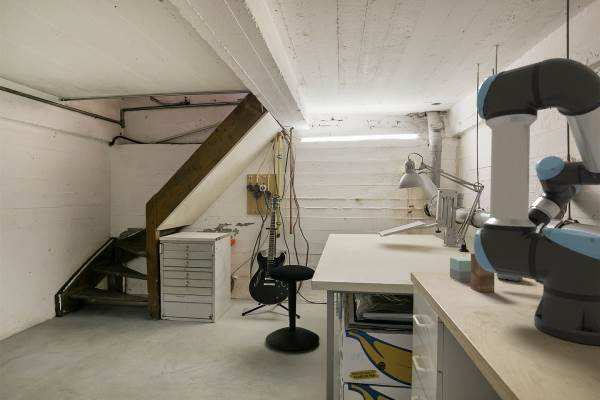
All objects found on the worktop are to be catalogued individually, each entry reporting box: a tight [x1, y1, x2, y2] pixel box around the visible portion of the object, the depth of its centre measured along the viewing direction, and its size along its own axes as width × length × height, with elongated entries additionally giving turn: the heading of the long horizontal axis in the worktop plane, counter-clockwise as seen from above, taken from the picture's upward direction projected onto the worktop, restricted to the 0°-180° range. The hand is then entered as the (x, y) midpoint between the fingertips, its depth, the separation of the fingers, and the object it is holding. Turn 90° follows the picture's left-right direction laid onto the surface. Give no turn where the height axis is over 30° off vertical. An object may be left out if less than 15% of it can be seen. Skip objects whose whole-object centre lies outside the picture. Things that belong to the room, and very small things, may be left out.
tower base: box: [449, 267, 471, 283], centre depth 124 cm, size 7×7×4 cm
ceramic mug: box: [496, 273, 523, 282], centre depth 125 cm, size 10×8×7 cm
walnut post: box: [470, 252, 495, 294], centre depth 109 cm, size 5×5×12 cm
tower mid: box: [449, 256, 471, 272], centre depth 124 cm, size 7×7×4 cm
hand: (497, 258), depth 110 cm, fingers open, 13 cm apart
